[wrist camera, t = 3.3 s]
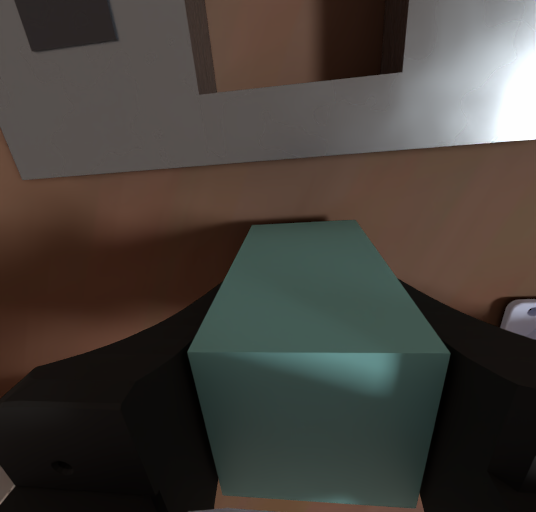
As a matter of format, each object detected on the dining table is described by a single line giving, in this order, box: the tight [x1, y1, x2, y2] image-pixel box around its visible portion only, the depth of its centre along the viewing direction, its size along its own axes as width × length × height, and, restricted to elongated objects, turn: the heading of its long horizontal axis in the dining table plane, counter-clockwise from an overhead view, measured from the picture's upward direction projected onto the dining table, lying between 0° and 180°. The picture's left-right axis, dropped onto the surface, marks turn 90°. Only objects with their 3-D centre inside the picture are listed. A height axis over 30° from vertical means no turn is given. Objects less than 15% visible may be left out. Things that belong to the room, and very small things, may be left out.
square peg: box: [187, 220, 451, 508], centre depth 9 cm, size 4×4×8 cm
